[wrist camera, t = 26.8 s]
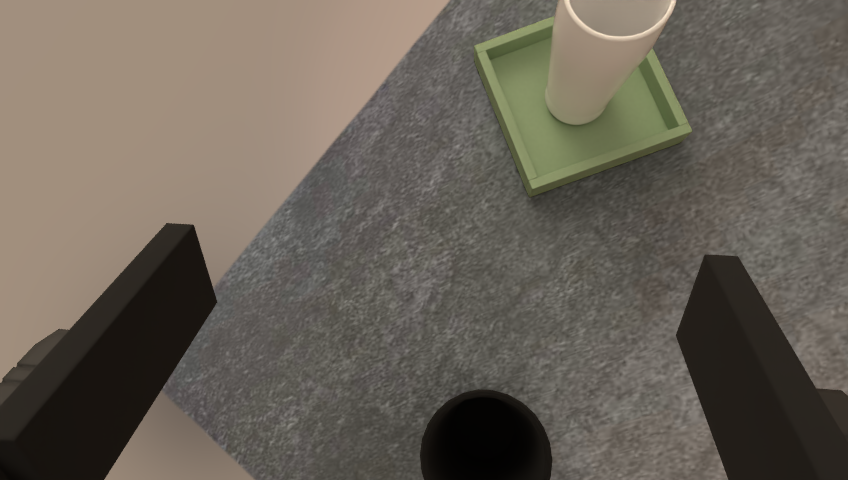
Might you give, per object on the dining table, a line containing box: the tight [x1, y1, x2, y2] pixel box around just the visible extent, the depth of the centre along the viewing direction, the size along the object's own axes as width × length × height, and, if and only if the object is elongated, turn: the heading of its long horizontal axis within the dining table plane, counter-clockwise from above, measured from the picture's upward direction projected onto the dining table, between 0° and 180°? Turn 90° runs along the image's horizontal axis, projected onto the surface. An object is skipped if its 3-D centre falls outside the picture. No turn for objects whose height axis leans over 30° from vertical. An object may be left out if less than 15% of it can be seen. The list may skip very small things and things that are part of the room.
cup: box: [420, 390, 552, 480], centre depth 38 cm, size 8×8×12 cm
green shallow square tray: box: [474, 16, 692, 197], centre depth 46 cm, size 14×14×3 cm
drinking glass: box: [545, 0, 676, 125], centre depth 40 cm, size 7×7×15 cm
